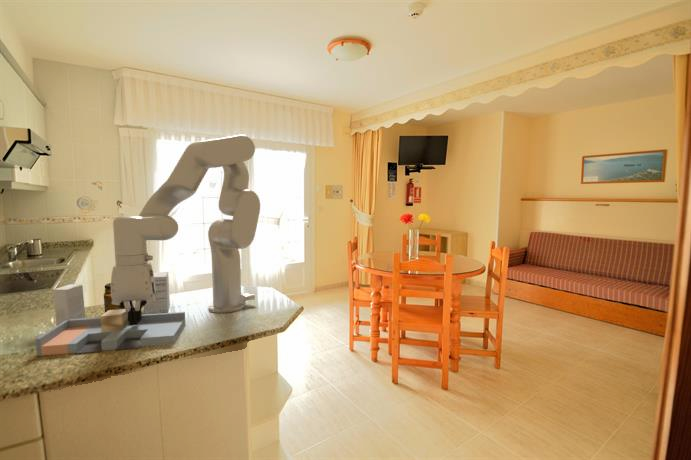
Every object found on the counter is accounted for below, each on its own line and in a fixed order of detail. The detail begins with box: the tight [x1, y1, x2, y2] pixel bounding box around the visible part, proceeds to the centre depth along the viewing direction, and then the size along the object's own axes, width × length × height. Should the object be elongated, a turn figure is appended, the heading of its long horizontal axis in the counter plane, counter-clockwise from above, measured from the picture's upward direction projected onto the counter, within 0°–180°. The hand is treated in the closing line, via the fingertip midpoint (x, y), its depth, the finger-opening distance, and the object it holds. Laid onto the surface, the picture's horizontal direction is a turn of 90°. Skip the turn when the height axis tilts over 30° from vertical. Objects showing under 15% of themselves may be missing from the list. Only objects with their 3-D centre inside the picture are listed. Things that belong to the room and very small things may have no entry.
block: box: [100, 309, 129, 332], centre depth 93 cm, size 5×5×4 cm
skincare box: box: [52, 283, 86, 326], centre depth 100 cm, size 6×4×12 cm
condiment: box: [103, 282, 124, 313], centre depth 104 cm, size 7×8×12 cm
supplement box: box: [143, 271, 171, 315], centre depth 114 cm, size 7×7×13 cm
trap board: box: [35, 311, 186, 357], centre depth 91 cm, size 31×14×4 cm, turn 104°
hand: (135, 323), depth 94 cm, fingers closed
